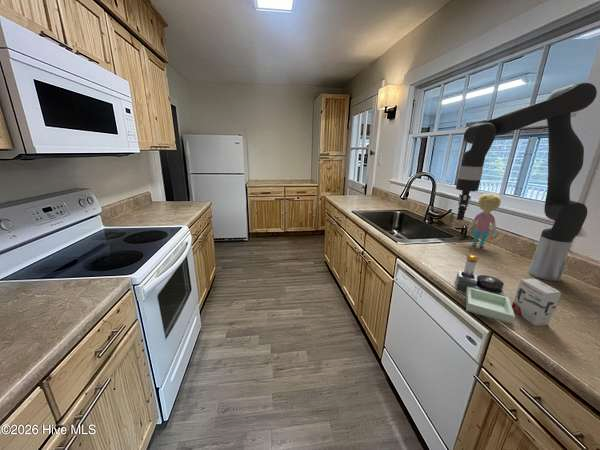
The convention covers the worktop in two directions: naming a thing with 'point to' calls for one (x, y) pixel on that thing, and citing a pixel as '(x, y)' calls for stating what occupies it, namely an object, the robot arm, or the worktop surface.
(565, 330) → the worktop surface
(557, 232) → the robot arm
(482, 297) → the tray
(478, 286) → the tensioner block
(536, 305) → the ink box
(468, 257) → the pin
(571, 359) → the worktop surface
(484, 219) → the toy
